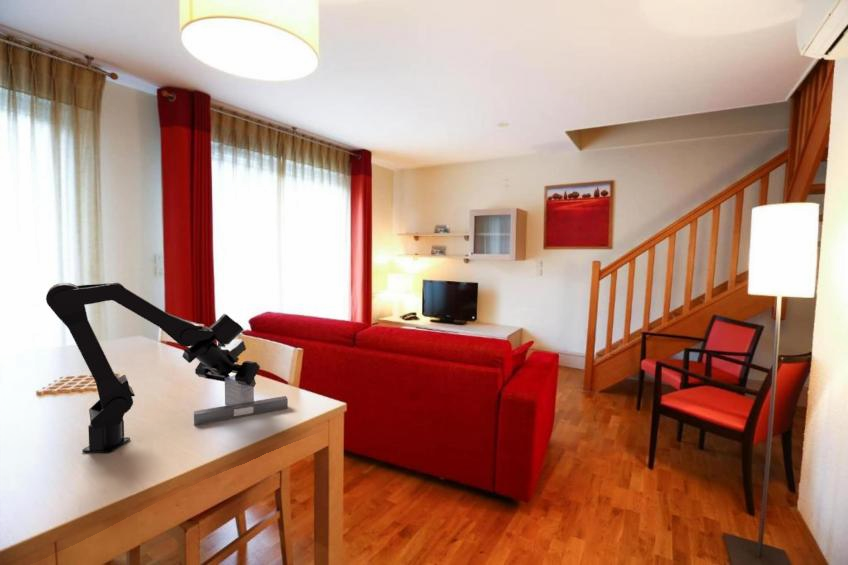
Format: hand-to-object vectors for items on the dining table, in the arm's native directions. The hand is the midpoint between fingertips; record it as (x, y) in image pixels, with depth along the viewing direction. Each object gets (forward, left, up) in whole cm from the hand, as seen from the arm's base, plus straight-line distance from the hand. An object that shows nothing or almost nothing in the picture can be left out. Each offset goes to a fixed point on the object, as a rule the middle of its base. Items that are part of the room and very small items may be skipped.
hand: (242, 383), depth 118 cm
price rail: (-7, -3, -7) cm, 10 cm away
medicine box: (-1, 0, -7) cm, 7 cm away
